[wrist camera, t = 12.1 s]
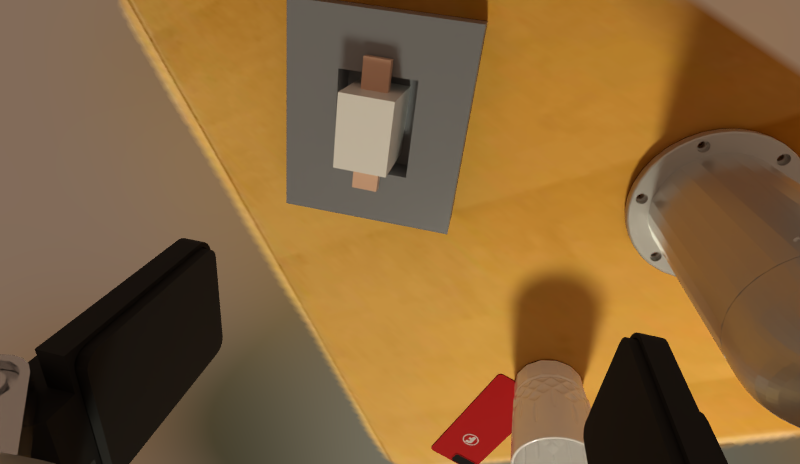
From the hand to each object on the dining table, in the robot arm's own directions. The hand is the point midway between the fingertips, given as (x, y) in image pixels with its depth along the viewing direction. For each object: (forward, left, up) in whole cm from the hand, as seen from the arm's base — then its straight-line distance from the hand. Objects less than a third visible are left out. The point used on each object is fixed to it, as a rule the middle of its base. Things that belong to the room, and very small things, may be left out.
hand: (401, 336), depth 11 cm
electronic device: (-8, +36, -31) cm, 48 cm away
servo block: (+7, +3, -29) cm, 30 cm away
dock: (+7, +3, -30) cm, 31 cm away
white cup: (-13, +28, -30) cm, 43 cm away
